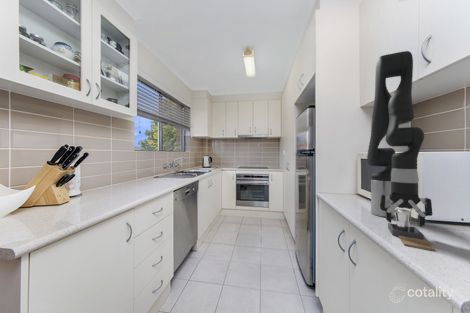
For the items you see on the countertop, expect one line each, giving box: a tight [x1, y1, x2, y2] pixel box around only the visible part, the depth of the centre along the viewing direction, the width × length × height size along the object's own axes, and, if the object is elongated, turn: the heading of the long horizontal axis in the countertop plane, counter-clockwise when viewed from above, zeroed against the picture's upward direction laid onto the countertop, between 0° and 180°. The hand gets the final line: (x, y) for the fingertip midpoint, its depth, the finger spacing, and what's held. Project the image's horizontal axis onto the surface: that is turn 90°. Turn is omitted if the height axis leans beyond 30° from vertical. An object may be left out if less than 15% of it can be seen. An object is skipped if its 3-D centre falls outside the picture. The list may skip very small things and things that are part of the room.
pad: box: [398, 236, 436, 252], centre depth 61 cm, size 7×7×1 cm
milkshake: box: [394, 208, 414, 232], centre depth 68 cm, size 4×5×10 cm
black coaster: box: [387, 222, 425, 240], centre depth 68 cm, size 8×8×2 cm
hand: (404, 224), depth 68 cm, fingers open, 8 cm apart
